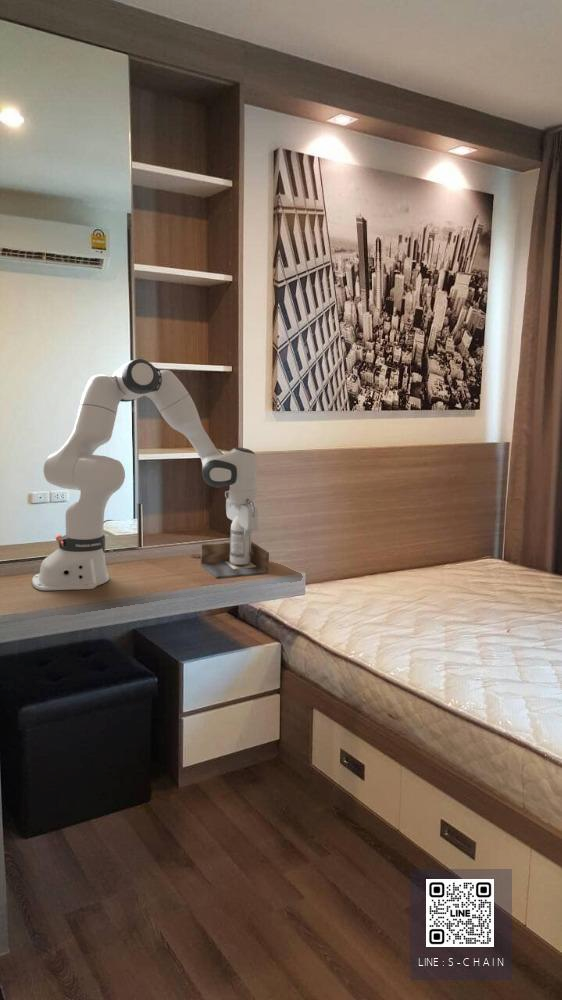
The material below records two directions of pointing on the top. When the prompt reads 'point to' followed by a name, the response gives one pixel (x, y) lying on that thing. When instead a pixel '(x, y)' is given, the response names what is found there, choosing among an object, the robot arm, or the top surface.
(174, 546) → the top surface
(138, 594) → the top surface
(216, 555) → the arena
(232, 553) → the bath foam
